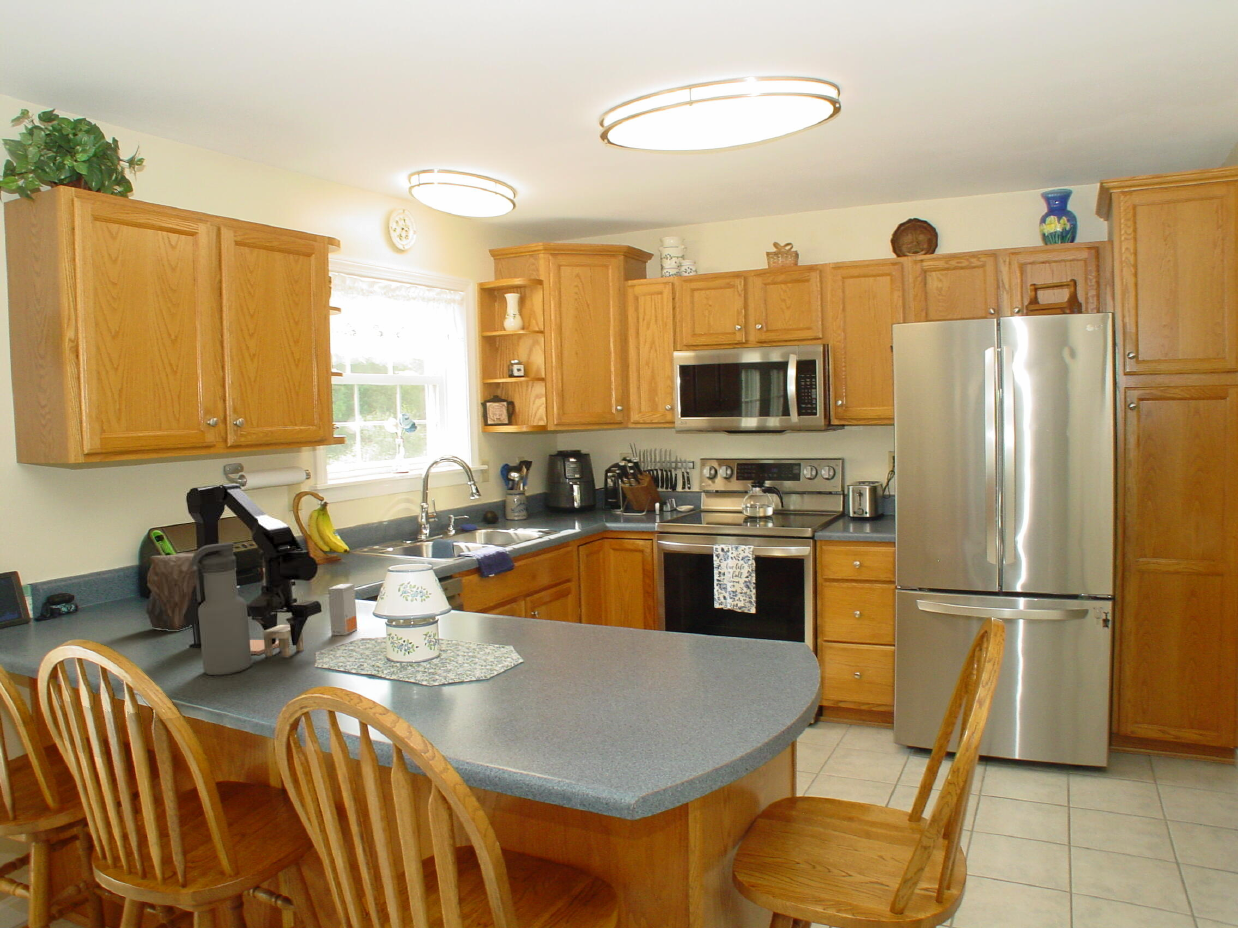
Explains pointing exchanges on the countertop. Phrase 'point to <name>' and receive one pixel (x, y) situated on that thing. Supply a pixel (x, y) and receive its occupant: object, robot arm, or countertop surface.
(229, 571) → the water bottle
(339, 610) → the skincare box
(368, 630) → the countertop surface
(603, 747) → the countertop surface
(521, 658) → the countertop surface
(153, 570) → the tree stump
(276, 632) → the birch stool
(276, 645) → the trivet
